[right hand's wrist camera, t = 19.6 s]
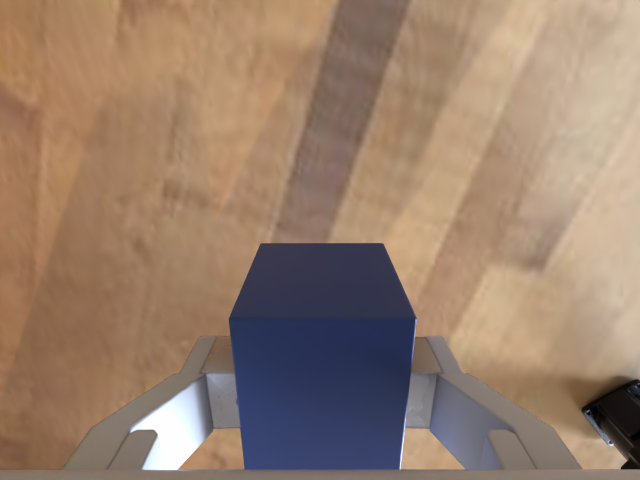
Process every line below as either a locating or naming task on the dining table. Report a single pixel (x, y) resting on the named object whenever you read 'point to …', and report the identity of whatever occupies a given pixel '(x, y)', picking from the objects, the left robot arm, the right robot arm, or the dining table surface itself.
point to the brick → (322, 358)
